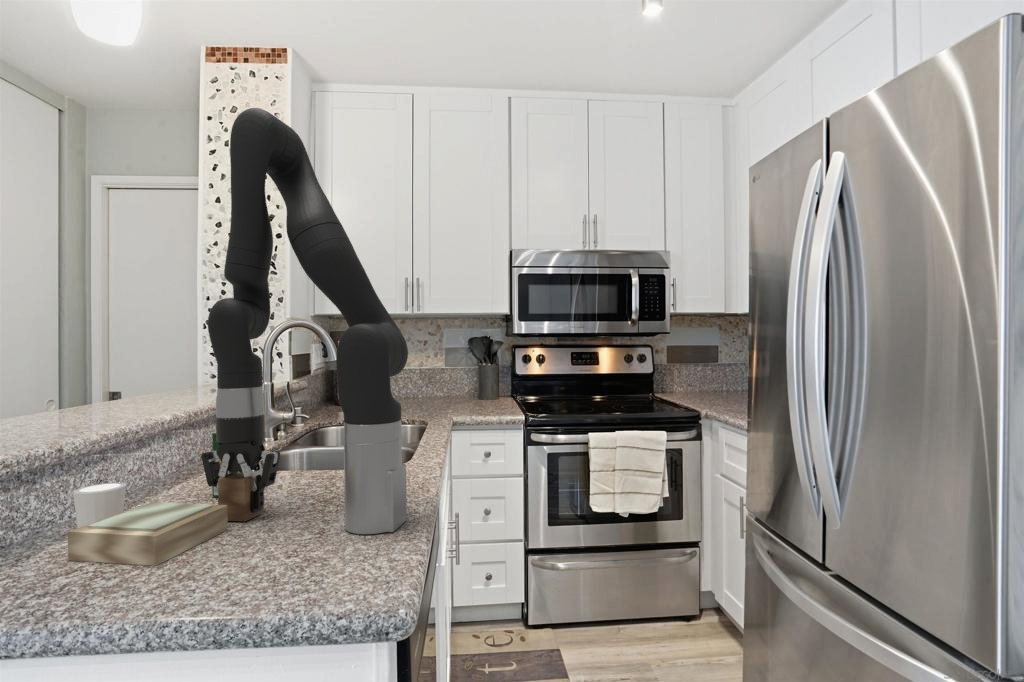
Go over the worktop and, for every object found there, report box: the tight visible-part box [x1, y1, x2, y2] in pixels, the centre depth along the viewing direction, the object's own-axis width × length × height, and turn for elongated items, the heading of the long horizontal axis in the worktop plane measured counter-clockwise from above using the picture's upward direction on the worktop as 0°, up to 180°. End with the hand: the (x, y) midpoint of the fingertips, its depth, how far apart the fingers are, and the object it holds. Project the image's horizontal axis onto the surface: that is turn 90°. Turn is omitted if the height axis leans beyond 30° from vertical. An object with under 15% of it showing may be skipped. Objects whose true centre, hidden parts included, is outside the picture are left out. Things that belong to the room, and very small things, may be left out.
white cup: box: [73, 482, 127, 528], centre depth 85 cm, size 7×7×7 cm
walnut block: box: [217, 472, 265, 522], centre depth 91 cm, size 5×5×7 cm
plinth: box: [67, 501, 228, 567], centre depth 79 cm, size 14×14×4 cm
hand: (241, 510), depth 91 cm, fingers closed on walnut block, 5 cm apart
